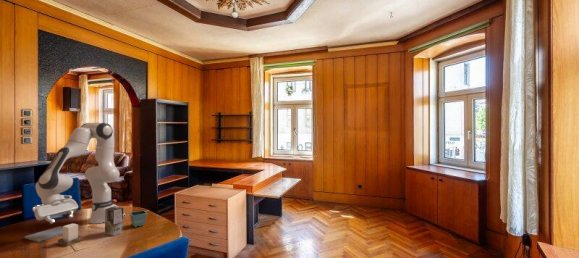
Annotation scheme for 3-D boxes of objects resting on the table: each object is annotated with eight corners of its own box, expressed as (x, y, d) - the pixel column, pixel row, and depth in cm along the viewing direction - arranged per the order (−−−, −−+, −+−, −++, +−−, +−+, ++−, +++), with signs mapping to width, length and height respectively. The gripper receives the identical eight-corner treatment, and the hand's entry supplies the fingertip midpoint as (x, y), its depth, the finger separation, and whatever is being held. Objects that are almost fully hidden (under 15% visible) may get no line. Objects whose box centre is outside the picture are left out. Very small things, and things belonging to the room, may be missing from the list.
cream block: (72, 239, 155) (72, 223, 155) (77, 241, 153) (78, 224, 153) (62, 243, 150) (63, 226, 150) (68, 244, 148) (68, 227, 148)
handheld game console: (45, 217, 192) (45, 204, 192) (68, 212, 203) (68, 201, 203) (50, 222, 183) (50, 209, 183) (74, 217, 194) (74, 204, 194)
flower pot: (129, 225, 179) (129, 212, 179) (143, 222, 185) (144, 210, 185) (132, 229, 173) (132, 215, 173) (146, 226, 179) (147, 213, 179)
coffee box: (123, 232, 167) (123, 207, 167) (113, 236, 161) (113, 210, 161) (114, 229, 171) (115, 205, 171) (104, 233, 165) (104, 208, 165)
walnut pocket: (73, 238, 157) (73, 234, 157) (82, 240, 154) (82, 236, 154) (57, 243, 149) (57, 239, 149) (66, 246, 146) (66, 242, 146)
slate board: (59, 227, 173) (59, 226, 173) (73, 230, 168) (73, 229, 168) (24, 238, 156) (24, 236, 156) (38, 242, 151) (38, 240, 151)
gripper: (33, 203, 147) (43, 222, 143) (74, 195, 166) (83, 212, 163) (28, 209, 148) (38, 229, 145) (69, 201, 168) (78, 218, 164)
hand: (62, 220), depth 154 cm, fingers open, 8 cm apart
